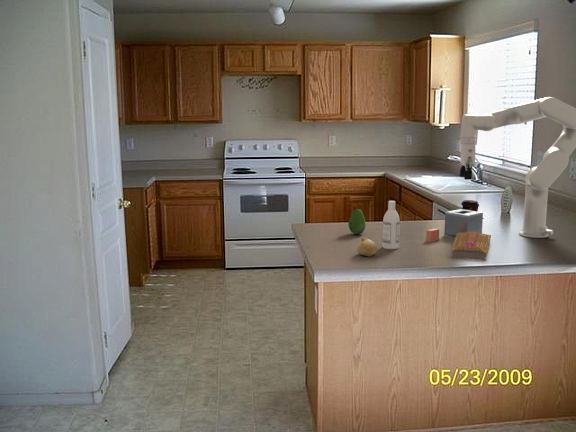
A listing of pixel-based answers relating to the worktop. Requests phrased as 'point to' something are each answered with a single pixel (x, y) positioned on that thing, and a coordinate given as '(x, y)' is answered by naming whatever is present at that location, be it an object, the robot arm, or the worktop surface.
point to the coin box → (462, 222)
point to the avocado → (357, 222)
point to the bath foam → (391, 227)
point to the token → (432, 235)
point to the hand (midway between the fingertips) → (465, 178)
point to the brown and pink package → (471, 245)
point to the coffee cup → (470, 205)
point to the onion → (366, 247)
